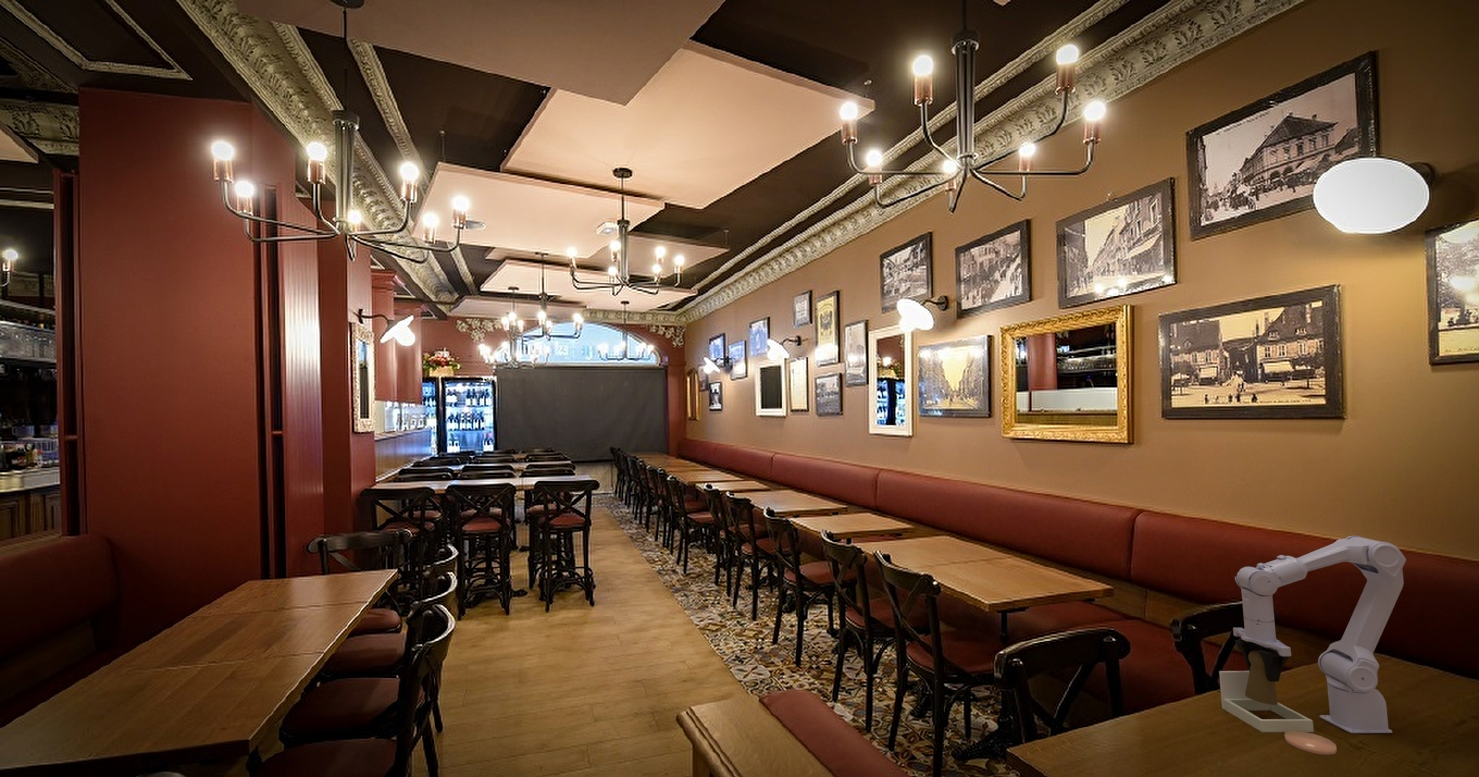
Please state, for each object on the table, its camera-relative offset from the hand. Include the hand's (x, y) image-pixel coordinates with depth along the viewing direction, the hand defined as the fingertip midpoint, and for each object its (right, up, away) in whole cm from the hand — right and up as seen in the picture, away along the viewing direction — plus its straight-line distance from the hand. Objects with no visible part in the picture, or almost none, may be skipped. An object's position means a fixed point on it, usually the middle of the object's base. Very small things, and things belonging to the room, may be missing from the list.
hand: (1263, 676), depth 147 cm
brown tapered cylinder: (-1, -6, 0) cm, 6 cm away
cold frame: (0, -10, -1) cm, 10 cm away
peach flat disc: (0, -9, -12) cm, 15 cm away
